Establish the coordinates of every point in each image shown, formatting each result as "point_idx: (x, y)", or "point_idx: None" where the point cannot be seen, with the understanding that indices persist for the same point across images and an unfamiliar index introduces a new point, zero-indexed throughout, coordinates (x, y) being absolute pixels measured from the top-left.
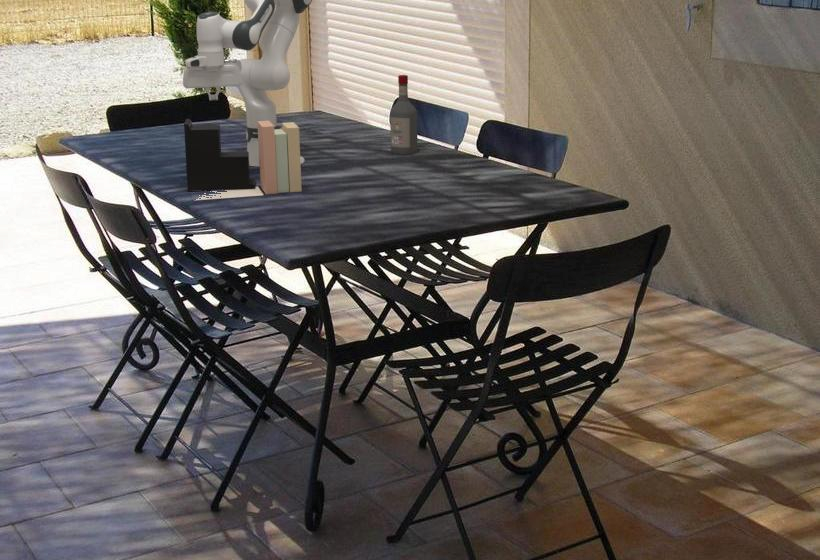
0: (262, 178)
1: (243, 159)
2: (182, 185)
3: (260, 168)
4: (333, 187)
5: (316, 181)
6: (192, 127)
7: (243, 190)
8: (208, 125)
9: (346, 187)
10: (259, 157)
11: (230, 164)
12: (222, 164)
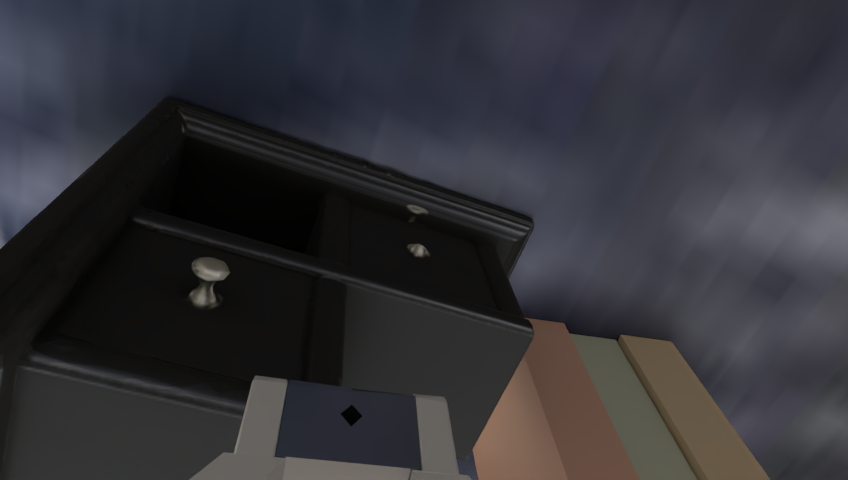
0: (500, 419)
1: None
2: (119, 81)
3: (523, 406)
4: (763, 442)
5: (784, 322)
6: (21, 466)
7: None
8: (215, 429)
9: (801, 461)
10: (543, 434)
11: None
12: None
